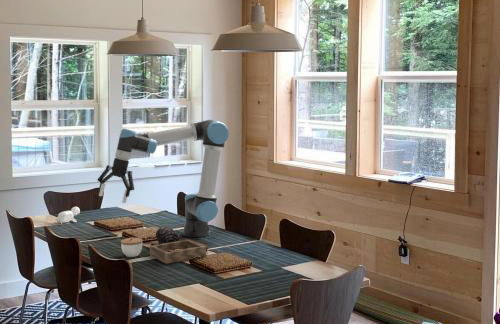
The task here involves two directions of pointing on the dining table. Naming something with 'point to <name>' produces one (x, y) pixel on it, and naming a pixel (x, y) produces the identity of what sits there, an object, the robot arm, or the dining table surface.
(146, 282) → the dining table surface
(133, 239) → the lidded jar
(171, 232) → the pine cone
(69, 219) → the white animal figurine
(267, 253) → the dining table surface
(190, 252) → the wooden tray
